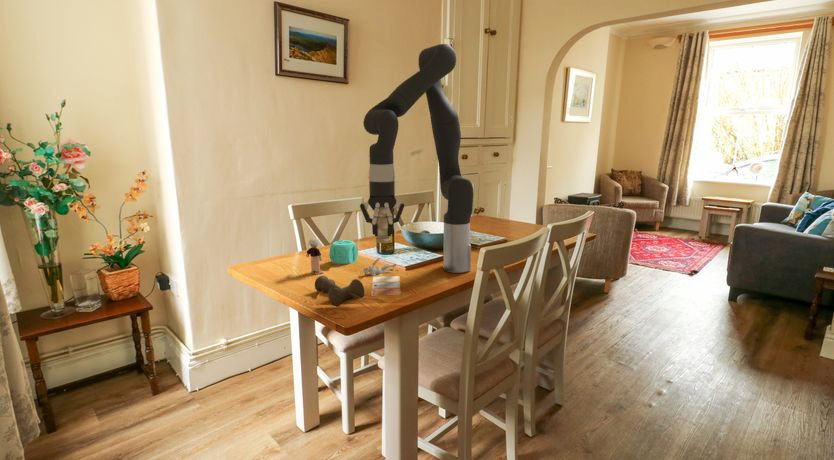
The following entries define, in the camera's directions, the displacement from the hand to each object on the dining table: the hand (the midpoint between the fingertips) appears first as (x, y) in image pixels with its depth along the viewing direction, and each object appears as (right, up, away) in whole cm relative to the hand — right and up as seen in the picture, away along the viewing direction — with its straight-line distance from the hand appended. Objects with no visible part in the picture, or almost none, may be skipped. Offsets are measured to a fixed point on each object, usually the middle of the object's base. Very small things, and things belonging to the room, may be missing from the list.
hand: (382, 235), depth 136 cm
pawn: (0, -2, 0) cm, 2 cm away
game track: (+1, -17, +6) cm, 18 cm away
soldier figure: (-2, -14, +18) cm, 23 cm away
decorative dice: (-17, -11, +33) cm, 39 cm away
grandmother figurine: (-25, -14, +22) cm, 36 cm away
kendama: (-13, -19, -2) cm, 23 cm away
